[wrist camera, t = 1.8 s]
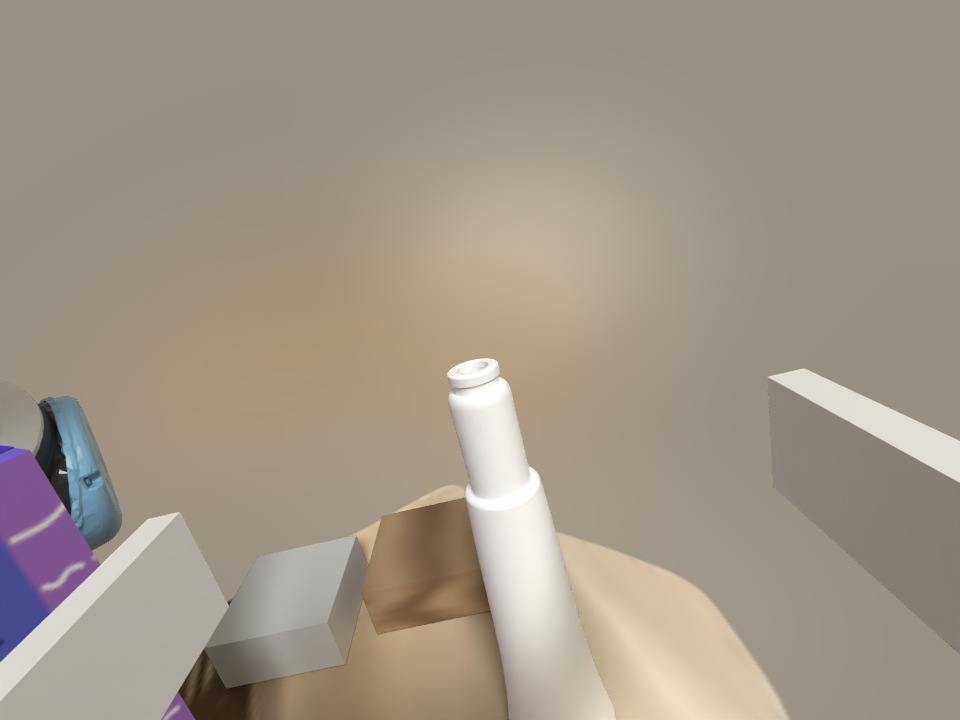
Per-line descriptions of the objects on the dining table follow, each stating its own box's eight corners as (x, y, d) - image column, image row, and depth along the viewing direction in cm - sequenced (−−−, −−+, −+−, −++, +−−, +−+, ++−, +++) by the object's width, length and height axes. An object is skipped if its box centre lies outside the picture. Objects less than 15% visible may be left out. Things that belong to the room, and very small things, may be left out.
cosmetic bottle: (499, 772, 25) (377, 405, 18) (520, 665, 30) (433, 351, 23) (616, 793, 23) (528, 390, 16) (616, 675, 28) (551, 334, 21)
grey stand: (226, 688, 34) (203, 648, 33) (274, 591, 42) (258, 556, 41) (345, 664, 33) (327, 622, 32) (370, 570, 42) (356, 535, 41)
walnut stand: (377, 634, 35) (361, 593, 34) (394, 550, 44) (382, 515, 43) (493, 610, 35) (481, 568, 34) (487, 530, 43) (478, 494, 42)
